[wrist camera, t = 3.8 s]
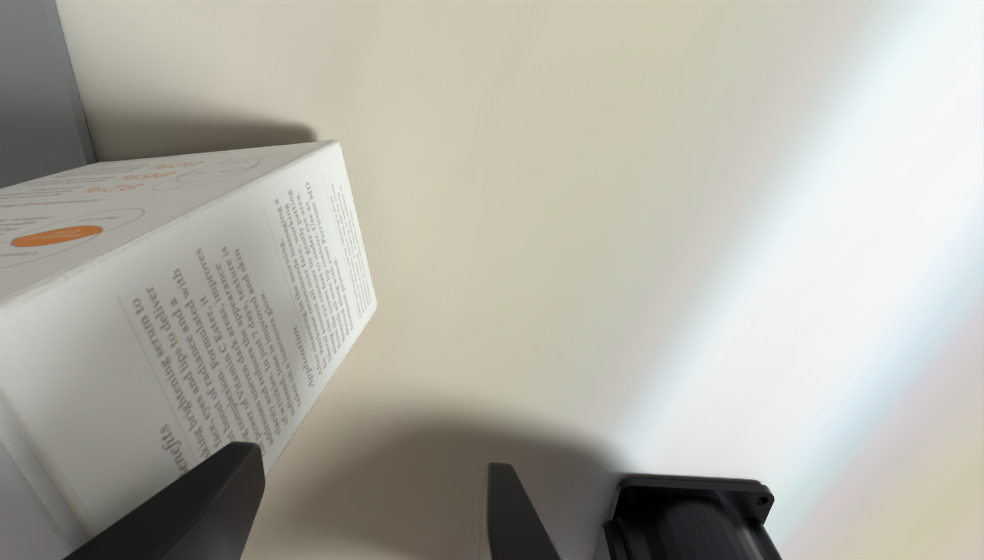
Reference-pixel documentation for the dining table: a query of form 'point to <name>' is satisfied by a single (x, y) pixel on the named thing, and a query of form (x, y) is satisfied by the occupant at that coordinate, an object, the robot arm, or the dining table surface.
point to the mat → (38, 96)
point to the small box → (164, 325)
